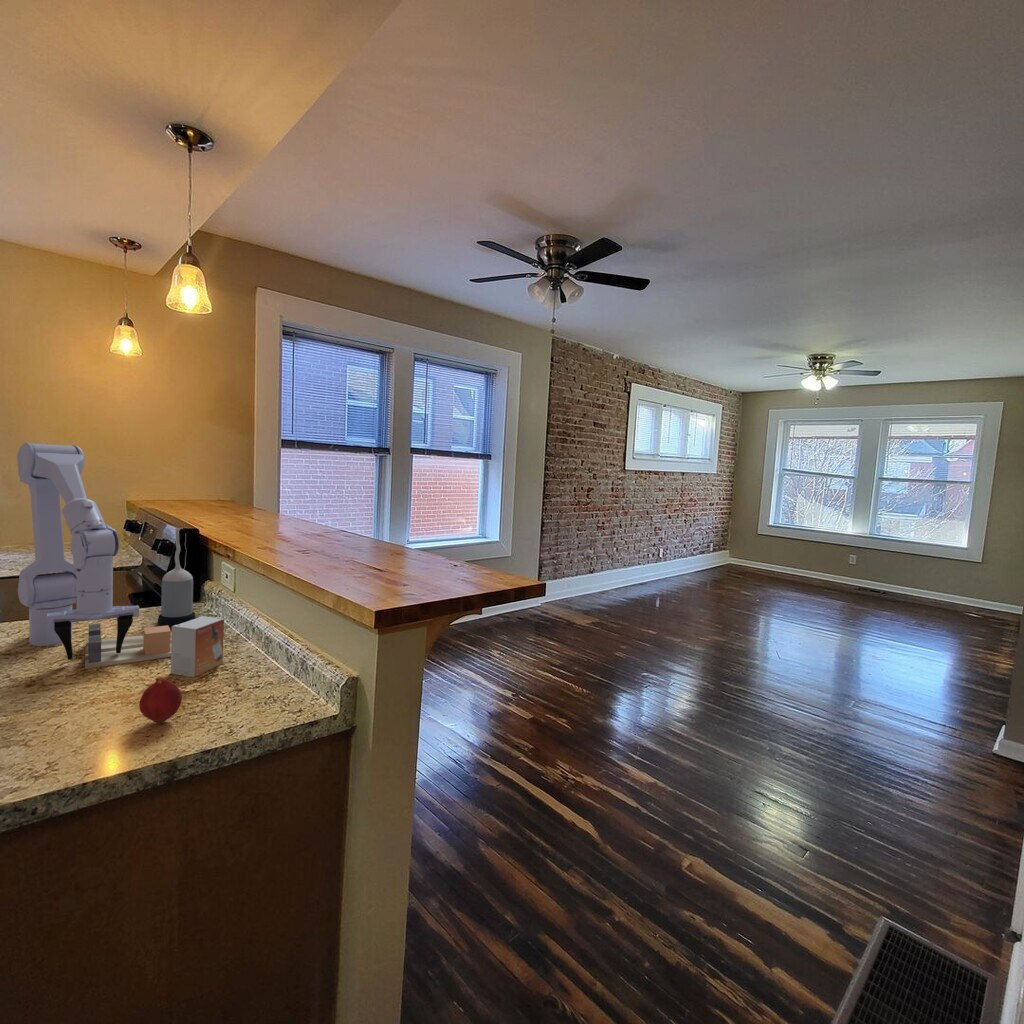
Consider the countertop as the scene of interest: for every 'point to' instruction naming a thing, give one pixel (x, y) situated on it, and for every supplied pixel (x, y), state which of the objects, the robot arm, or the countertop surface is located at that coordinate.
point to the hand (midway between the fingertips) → (94, 654)
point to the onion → (160, 700)
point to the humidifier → (176, 594)
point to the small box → (197, 646)
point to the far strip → (114, 640)
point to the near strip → (111, 658)
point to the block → (156, 640)
